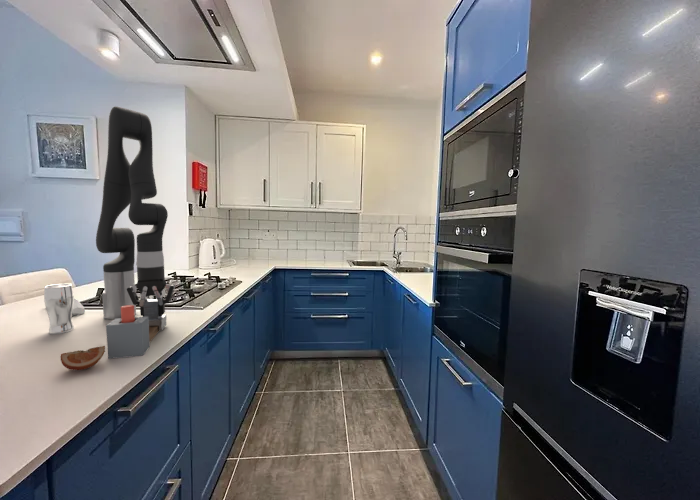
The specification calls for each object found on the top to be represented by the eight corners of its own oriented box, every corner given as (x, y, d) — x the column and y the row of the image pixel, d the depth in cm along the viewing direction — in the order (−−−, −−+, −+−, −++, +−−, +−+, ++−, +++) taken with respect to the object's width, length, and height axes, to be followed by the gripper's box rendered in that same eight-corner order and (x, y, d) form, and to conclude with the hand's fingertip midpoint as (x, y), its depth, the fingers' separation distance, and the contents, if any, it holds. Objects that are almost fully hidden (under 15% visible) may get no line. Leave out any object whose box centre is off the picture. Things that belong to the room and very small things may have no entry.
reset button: (120, 333, 85) (118, 308, 84) (124, 330, 87) (123, 305, 87) (133, 332, 85) (131, 307, 85) (136, 329, 88) (135, 304, 88)
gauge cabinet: (107, 358, 83) (106, 325, 82) (117, 349, 89) (115, 318, 88) (142, 355, 85) (141, 322, 85) (149, 346, 91) (148, 316, 90)
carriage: (139, 332, 101) (138, 303, 100) (145, 326, 107) (144, 298, 106) (162, 330, 103) (160, 301, 102) (166, 324, 109) (165, 297, 108)
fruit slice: (105, 359, 83) (104, 341, 82) (107, 368, 78) (106, 349, 77) (61, 369, 77) (60, 349, 77) (61, 379, 72) (59, 358, 72)
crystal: (92, 303, 122) (75, 294, 136) (70, 297, 117) (55, 288, 131) (81, 322, 120) (64, 310, 134) (58, 316, 114) (44, 305, 129)
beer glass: (80, 328, 105) (77, 284, 104) (55, 335, 98) (52, 288, 97) (67, 326, 107) (64, 282, 106) (41, 333, 101) (37, 286, 99)
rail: (130, 347, 90) (129, 341, 90) (150, 326, 108) (150, 320, 108) (146, 346, 91) (145, 339, 91) (163, 325, 109) (163, 319, 109)
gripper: (177, 262, 109) (179, 311, 110) (129, 263, 104) (132, 314, 106) (172, 265, 101) (174, 318, 103) (120, 267, 97) (123, 321, 99)
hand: (152, 315), depth 104 cm, fingers closed on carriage, 4 cm apart
